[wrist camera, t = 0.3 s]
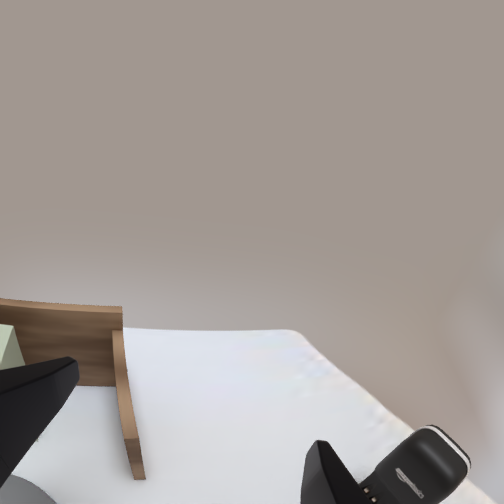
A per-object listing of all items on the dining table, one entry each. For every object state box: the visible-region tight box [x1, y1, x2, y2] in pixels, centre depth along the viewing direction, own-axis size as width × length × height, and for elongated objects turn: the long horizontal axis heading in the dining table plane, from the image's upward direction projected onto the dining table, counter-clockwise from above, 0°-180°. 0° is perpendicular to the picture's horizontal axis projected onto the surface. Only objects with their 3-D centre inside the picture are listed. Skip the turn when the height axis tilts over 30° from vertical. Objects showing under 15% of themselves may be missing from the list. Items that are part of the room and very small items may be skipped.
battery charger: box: [358, 425, 471, 504], centre depth 14 cm, size 7×4×11 cm, turn 23°
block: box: [0, 324, 38, 441], centre depth 14 cm, size 5×5×10 cm
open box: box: [0, 298, 146, 480], centre depth 14 cm, size 12×25×10 cm, turn 115°
